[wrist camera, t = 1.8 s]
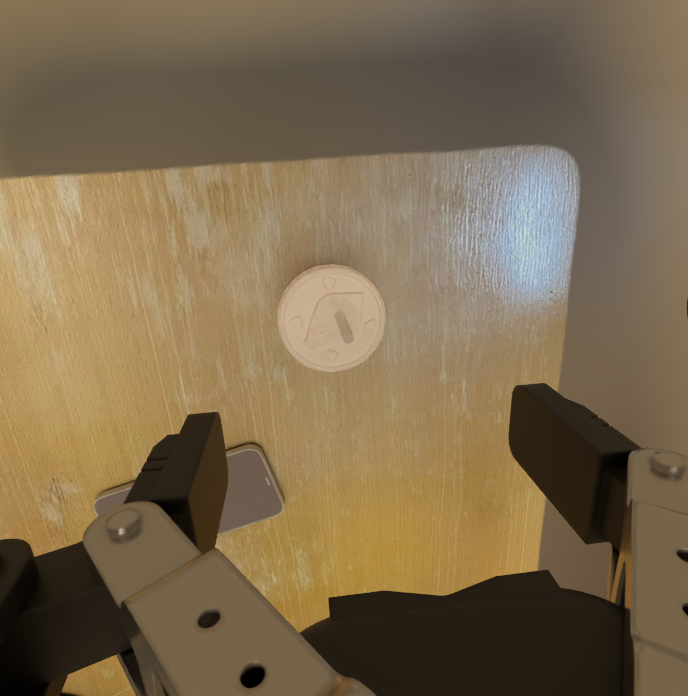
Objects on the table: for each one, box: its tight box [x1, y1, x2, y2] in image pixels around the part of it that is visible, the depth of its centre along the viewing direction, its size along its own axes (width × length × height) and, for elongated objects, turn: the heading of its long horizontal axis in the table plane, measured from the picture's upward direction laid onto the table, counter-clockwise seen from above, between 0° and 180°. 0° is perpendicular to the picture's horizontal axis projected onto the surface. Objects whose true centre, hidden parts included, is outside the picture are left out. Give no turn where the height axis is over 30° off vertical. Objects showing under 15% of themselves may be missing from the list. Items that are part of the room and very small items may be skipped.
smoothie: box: [277, 264, 386, 372], centre depth 29 cm, size 6×6×14 cm
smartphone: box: [93, 444, 284, 535], centre depth 40 cm, size 7×1×15 cm
